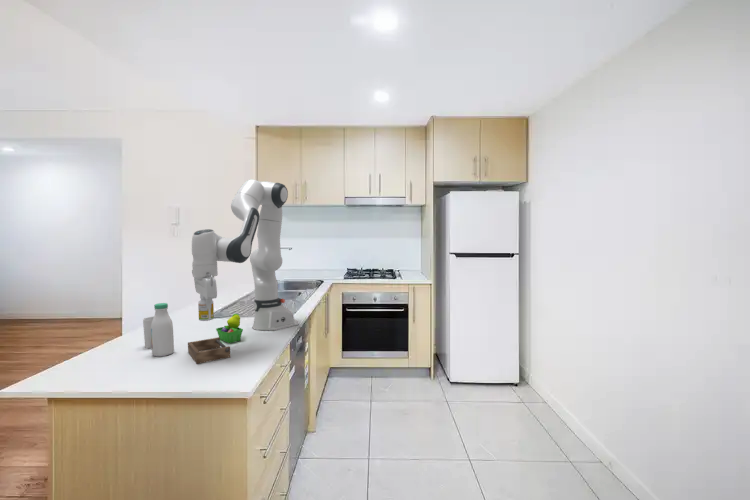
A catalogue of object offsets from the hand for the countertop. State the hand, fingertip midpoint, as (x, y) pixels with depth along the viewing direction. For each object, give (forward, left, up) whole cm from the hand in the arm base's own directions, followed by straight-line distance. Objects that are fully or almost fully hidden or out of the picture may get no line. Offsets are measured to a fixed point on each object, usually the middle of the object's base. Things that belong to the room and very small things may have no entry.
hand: (206, 307), depth 151 cm
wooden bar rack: (0, 0, -19) cm, 19 cm away
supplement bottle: (0, 0, -5) cm, 5 cm away
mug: (+15, -27, -19) cm, 37 cm away
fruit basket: (-13, -15, -19) cm, 28 cm away
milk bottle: (+14, -12, -19) cm, 27 cm away
